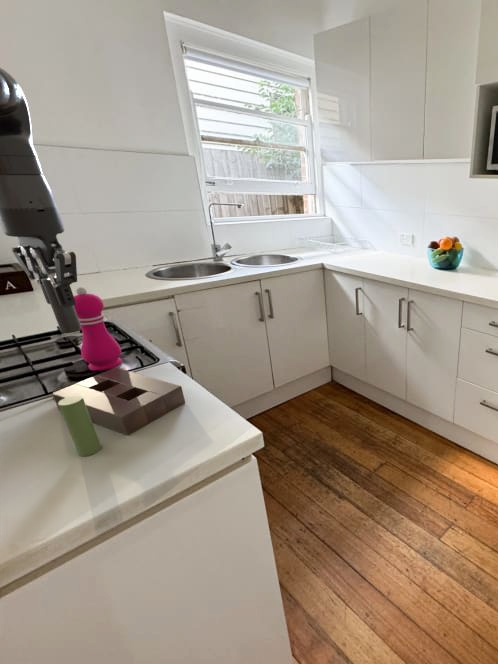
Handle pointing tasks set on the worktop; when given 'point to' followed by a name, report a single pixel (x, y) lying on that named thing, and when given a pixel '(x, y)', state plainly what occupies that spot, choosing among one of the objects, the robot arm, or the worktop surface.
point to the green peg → (80, 425)
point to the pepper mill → (95, 333)
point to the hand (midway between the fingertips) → (62, 304)
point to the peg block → (124, 399)
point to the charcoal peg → (62, 310)
